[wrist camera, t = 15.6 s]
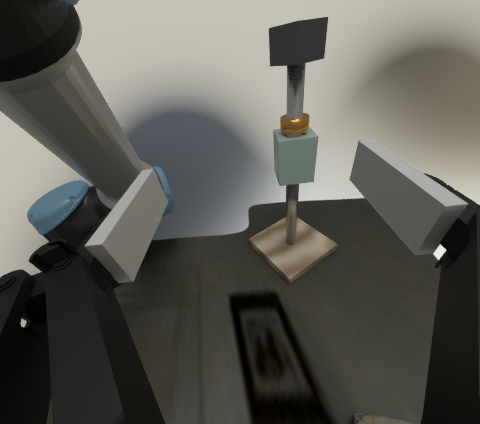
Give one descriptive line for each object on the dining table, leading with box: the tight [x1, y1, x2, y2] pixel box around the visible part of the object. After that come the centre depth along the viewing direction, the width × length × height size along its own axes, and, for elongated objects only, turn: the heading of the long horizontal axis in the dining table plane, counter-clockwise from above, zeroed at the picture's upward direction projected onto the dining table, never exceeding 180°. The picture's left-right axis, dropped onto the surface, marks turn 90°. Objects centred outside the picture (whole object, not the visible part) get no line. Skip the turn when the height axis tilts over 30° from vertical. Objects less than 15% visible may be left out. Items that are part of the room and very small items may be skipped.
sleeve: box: [273, 127, 318, 186], centre depth 36 cm, size 6×6×8 cm
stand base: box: [249, 217, 337, 285], centre depth 51 cm, size 15×15×2 cm
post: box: [269, 17, 328, 245], centre depth 38 cm, size 5×5×40 cm
